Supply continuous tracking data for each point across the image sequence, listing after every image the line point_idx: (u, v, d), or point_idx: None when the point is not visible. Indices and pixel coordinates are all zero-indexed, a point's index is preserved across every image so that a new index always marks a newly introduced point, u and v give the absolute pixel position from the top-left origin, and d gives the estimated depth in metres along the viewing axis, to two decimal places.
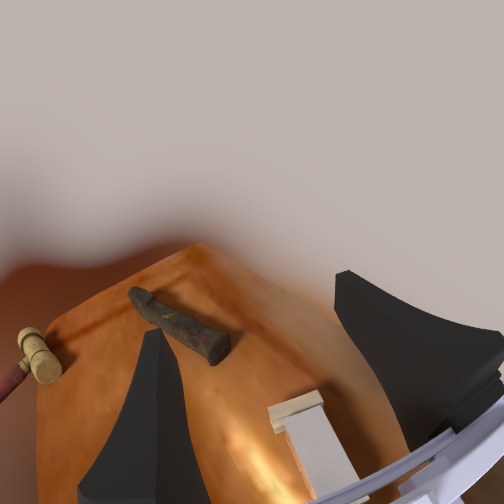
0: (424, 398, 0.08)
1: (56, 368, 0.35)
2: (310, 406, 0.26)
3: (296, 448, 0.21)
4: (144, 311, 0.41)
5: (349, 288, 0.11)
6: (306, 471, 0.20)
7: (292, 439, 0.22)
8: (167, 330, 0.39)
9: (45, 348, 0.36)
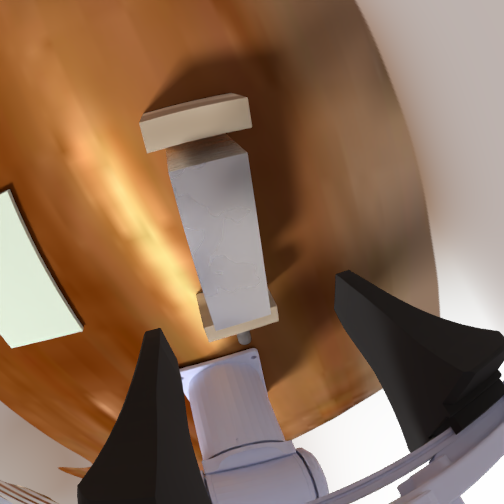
0: (424, 398, 0.08)
1: None
2: None
3: (187, 233, 0.15)
4: None
5: (349, 288, 0.11)
6: (198, 272, 0.16)
7: (182, 216, 0.14)
8: None
9: None
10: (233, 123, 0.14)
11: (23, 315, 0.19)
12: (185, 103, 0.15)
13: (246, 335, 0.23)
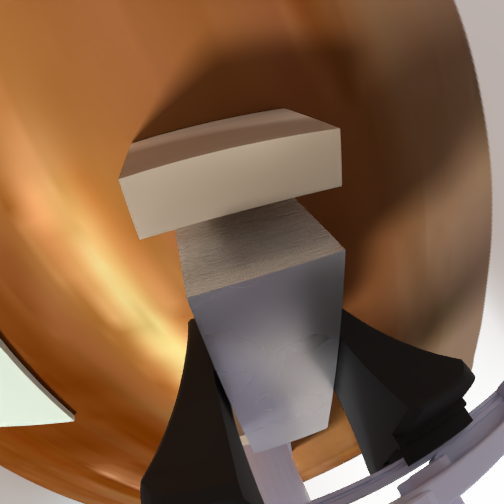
0: (376, 425, 0.07)
1: None
2: (292, 197, 0.07)
3: (223, 379, 0.08)
4: None
5: None
6: (238, 413, 0.09)
7: (215, 359, 0.07)
8: None
9: None
10: (310, 178, 0.07)
11: None
12: (207, 125, 0.09)
13: None
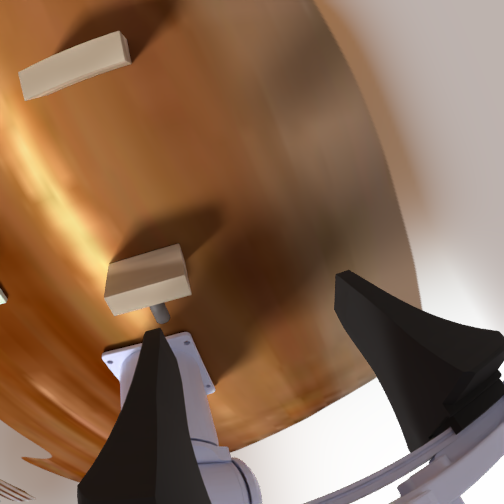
0: (424, 398, 0.08)
1: None
2: (95, 70, 0.10)
3: None
4: None
5: (349, 288, 0.11)
6: None
7: None
8: None
9: None
10: (104, 59, 0.10)
11: None
12: None
13: (161, 312, 0.19)
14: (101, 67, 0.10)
